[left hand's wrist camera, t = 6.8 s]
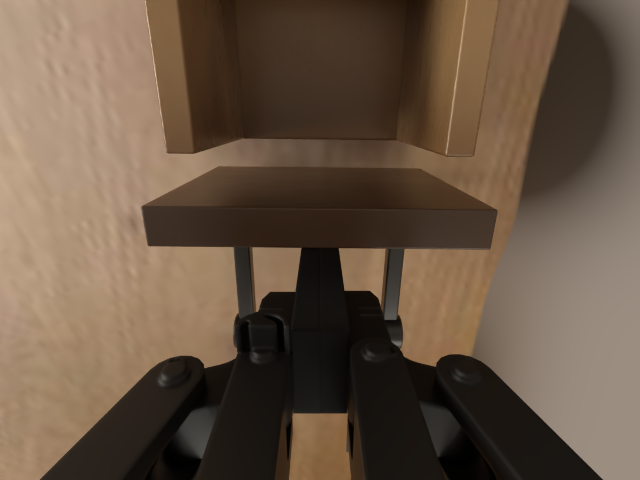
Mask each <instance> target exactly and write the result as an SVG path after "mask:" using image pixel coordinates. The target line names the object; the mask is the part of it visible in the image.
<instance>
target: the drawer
mask: <svg viewBox="0 0 640 480" xmlns="http://www.w3.org/2000/svg"><path fill="white" fill-rule="evenodd" d="M499 1H500V0H145V6H146V14H147V21H148V28H149V35H150V42H151V49H152V56H153V63H154V70H155V77H156V84H157V92H158V99H159V106H160V113H161V120H162V127H163V134H164V141H165V148H166V152H167V153H180V154H194V153H198V152H201V151H204V150H207V149H210V148H214V147H217V146H220V145H223V144H226V143H230V142H233V141H236V140H239V139H242V138H258V139H342V140H398V141H401V142H404V143H407V144H410V145H413V146H416V147H419V148H422V149H426V150H429V151H432V152H435V153H438V154H441V155H444V156H447V157H472V156H474V153H475V147H476V141H477V135H478V129H479V123H480V117H481V111H482V105H483V99H484V92H485V86H486V80H487V74H488V68H489V62H490V56H491V50H492V44H493V38H494V32H495V26H496V19H497V13H498V7H499ZM141 209H142V215H143V221H144V226H145V232H146V238H147V243H148V246H182V247H234V259H235V271H236V283H237V295H238V307H239V313H238V314H237V315H236V318H235V322H234V328H233V341H234V346H235V347H236V348H237V343H236V333H235V325H236V324H237V322H238V321H239V320H240V319H241V318H243V317H245V316H246V315H249V314H252V313H255V312H256V302H255V286H254V270H253V253H252V247H284V248H386V253H385V265H384V277H383V288H382V300H381V309H382V312H383V316H384V319H385V322H386V325H387V328H388V331H389V335H390V338H391V341H392V343H394V344H395V345H397V346H398V347H399V349H400V348H401V346H402V342H403V328H402V322H401V318H400V316H399V315H398V305H399V296H400V286H401V277H402V267H403V258H404V249H490V247H491V242H492V237H493V232H494V227H495V222H496V217H497V210H496V209H494V208H492V207H490V206H489V205H487V204H485V203H483V202H481V201H479V200H477V199H476V198H474V197H472V196H470V195H468V194H466V193H464V192H462V191H461V190H459V189H457V188H455V187H453V186H451V185H449V184H448V183H446V182H444V181H442V180H440V179H438V178H436V177H434V176H433V175H431V174H429V173H427V172H425V171H423V170H421V169H399V168H311V167H223V166H219V167H217V168H215V169H213V170H211V171H209V172H207V173H205V174H203V175H201V176H199V177H197V178H196V179H194V180H192V181H190V182H188V183H186V184H184V185H182V186H180V187H178V188H176V189H174V190H172V191H170V192H168V193H166V194H165V195H163V196H161V197H159V198H157V199H155V200H153V201H151V202H149V203H147V204H145V205H143V206H142V207H141Z"/></svg>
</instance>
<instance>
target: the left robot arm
mask: <svg viewBox="0 0 640 480" xmlns="http://www.w3.org/2000/svg"><path fill="white" fill-rule="evenodd" d="M235 333H236V343H237V352H238V354H237V357H236V359H234V360H232V361H230V362H227V363H224V364H221V365H217V366H212V367H208V368H204V364H203V363H202V362H201V361H200V360H199V359H198V358H195V357H192V356H178V357H173V358H169V359H167V360H165V361H163V362H160V363H159V364H157V365H156V366H155V367H153V368H152V369H151V370H150V371H149V372H148V373H147V374H146V375H145V376H144V377H143V378H142V379H141V380H140V381H139V382H138V383H137V384H136V385H135V386H134V387H133V388H132V389H131V390H130V391H129V392H128V393H126V394H125V395H124V396H123V397H122V398H121V399H120V400H119V401H118V402H117V403H116V404H115V405H114V406H113V407H112V408H111V409H110V410H109V411H108V412H107V413H106V414H105V415H104V416H103V417H102V418H101V419H100V420H99V421H98V422H97V423H96V424H95V425H94V426H93V427H92V428H91V429H90V430H89V431H88V432H87V433H86V434H85V435H84V436H83V437H82V438H81V439H80V440H79V441H78V442H77V443H76V444H75V445H74V446H73V447H72V448H71V449H70V450H69V451H68V452H67V453H66V454H65V455H64V456H63V457H62V458H61V459H60V460H59V461H58V462H57V463H56V464H55V465H54V466H53V467H52V468H51V469H50V470H49V471H48V472H47V473H46V474H45V475H44V476H43V477H42V478H41V479H40V480H289V470H290V458H291V446H292V434H293V424H292V415H293V413H347V412H348V424H347V450H346V452H349V458H350V470H351V480H603V479H602V478H601V477H600V476H599V475H598V474H597V473H596V472H594V470H593V469H592V468H590V467H589V466H588V465H587V464H586V463H585V462H584V461H583V460H582V459H581V458H580V457H579V456H578V455H577V454H576V453H575V452H574V451H573V450H572V449H571V448H570V447H569V446H568V445H567V444H566V443H565V442H564V441H563V440H562V439H561V438H560V437H559V436H558V435H557V434H556V433H555V432H554V431H553V430H552V429H551V428H550V427H549V426H548V425H547V424H546V423H545V422H544V421H543V420H542V419H541V418H540V417H539V416H538V415H537V414H536V413H535V412H534V411H533V410H532V409H531V408H530V407H529V406H528V405H527V404H526V403H525V402H524V401H523V400H522V399H521V398H520V397H519V396H518V395H517V394H516V393H515V392H514V391H513V390H512V389H511V388H510V387H509V386H508V385H506V384H505V383H504V382H503V381H502V380H501V379H500V378H499V377H498V376H497V375H496V374H495V373H494V372H493V371H492V370H491V369H490V368H489V367H488V366H486V365H485V364H484V363H482V362H481V361H479V360H477V359H474V358H472V357H469V356H465V355H460V354H454V355H447V356H444V357H441V358H440V360H439V361H438V362H437V364H436V367H434V366H429V365H425V364H421V363H417V362H414V361H411V360H409V359H407V358H405V357H404V356H403V353H402V352H401V350H400V349H399V347H398V346H397V345H395V344H394V343H392V341H391V338H390V335H389V331H388V328H387V325H386V322H385V319H384V316H383V312H382V309H381V306H380V303H379V300H378V298H377V297H376V296H375V295H374V294H373V293H372V292H371V291H344V284H343V277H342V270H341V262H340V255H339V248H302V249H301V256H300V264H299V271H298V278H297V285H296V292H270V293H269V294H268V295H266V296H265V297H264V298H263V299H262V301H261V305H260V308H259V311H258V312H255V313H252V314H249V315H246V316H245V317H243V318H241V319H240V320H239V321H238V322H237V324H236V325H235Z"/></svg>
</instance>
